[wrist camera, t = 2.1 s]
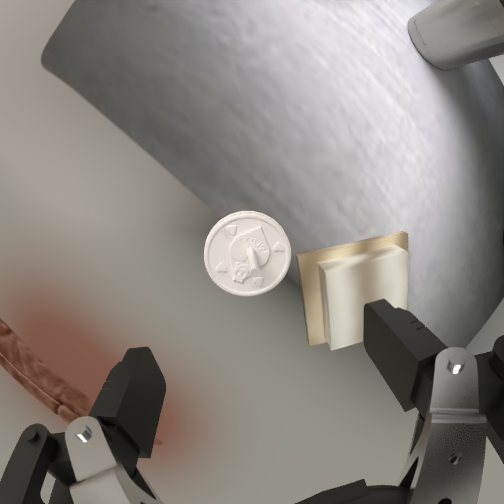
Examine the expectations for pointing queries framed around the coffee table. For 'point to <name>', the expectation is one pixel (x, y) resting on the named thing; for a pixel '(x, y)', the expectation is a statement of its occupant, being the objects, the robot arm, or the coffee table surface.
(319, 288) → the base
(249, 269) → the smoothie
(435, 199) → the coffee table surface
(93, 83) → the coffee table surface
